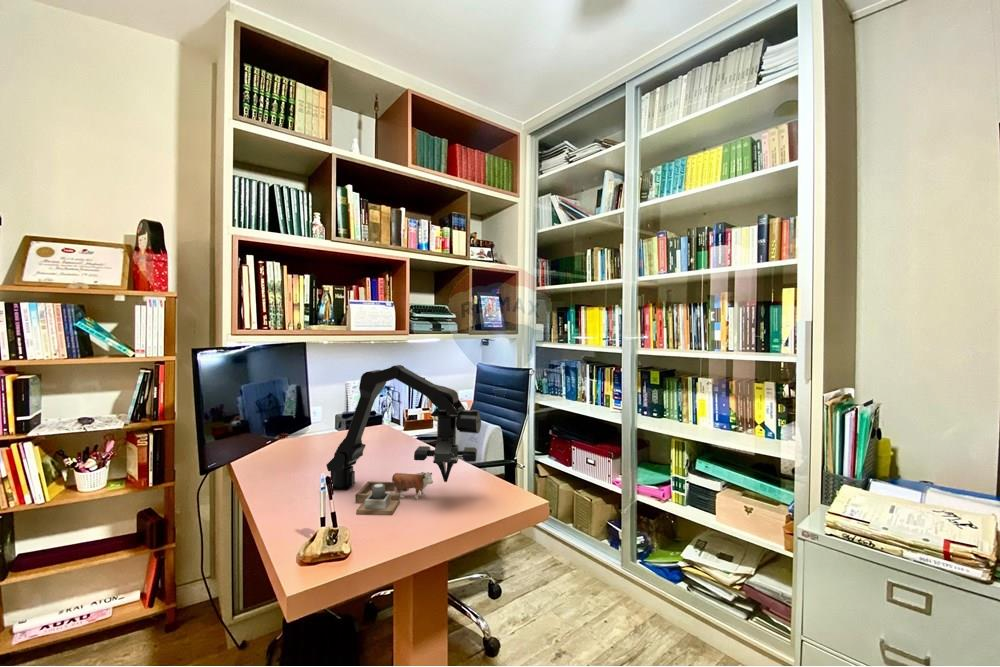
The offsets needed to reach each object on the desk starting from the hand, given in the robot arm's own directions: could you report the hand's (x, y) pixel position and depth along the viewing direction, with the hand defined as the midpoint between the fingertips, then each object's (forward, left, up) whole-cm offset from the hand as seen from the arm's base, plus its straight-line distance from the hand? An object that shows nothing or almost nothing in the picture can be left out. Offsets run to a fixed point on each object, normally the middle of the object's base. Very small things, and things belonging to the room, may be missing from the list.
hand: (445, 481), depth 125 cm
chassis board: (-19, -4, -5) cm, 20 cm away
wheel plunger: (-18, -9, -1) cm, 20 cm away
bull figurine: (-10, 0, -5) cm, 11 cm away
